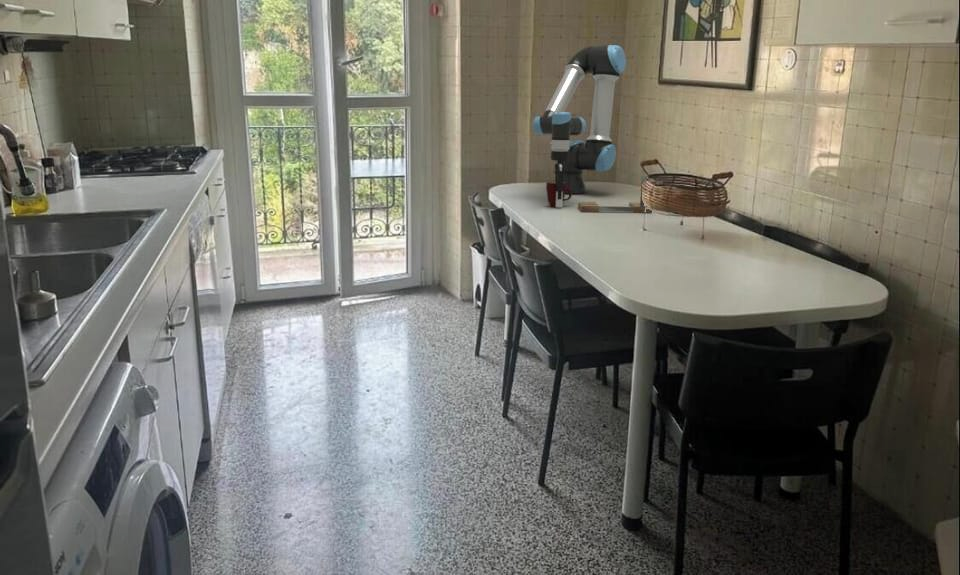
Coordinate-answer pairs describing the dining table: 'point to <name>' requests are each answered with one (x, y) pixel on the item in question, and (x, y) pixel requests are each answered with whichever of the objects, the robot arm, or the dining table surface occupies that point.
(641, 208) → the wooden stand
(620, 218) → the dining table surface
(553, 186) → the mug
